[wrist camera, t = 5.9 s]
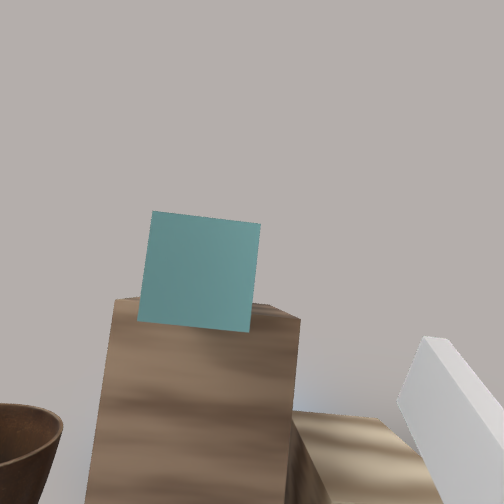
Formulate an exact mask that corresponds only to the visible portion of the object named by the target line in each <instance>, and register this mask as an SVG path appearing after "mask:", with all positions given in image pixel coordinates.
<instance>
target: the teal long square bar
mask: <svg viewBox="0 0 504 504" xmlns="http://www.w3.org/2000/svg"><path fill="white" fill-rule="evenodd" d="M260 226H261V224H258V223H249V222H241V221H232V220H224V219H216V218H208V217H199V216H190V215H183V214H174V213H166V212H158V211H153V212H152V219H151V226H150V234H149V240H148V247H147V254H146V261H145V268H144V275H143V282H142V290H141V296H140V303H139V310H138V317H137V321H141V322H151V323H160V324H170V325H180V326H190V327H199V328H209V329H219V330H229V331H238V332H248V333H249V329H250V319H251V310H252V300H253V291H254V282H255V272H256V264H257V253H258V244H259V236H260V235H259V234H260Z"/></svg>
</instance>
